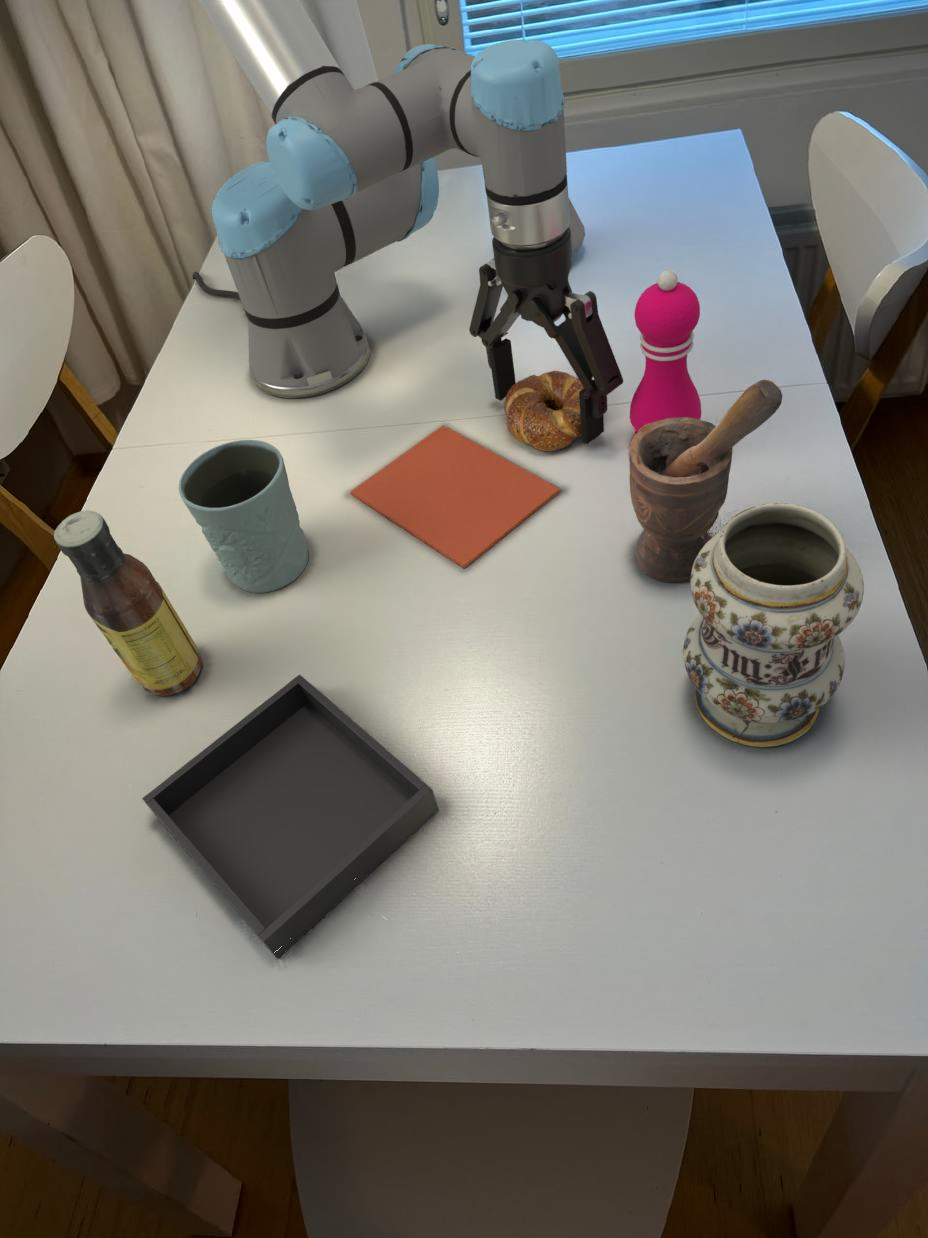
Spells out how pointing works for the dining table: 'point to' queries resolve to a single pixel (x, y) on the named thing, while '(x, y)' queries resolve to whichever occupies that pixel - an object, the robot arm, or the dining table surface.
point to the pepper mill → (666, 352)
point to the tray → (291, 811)
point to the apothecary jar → (770, 622)
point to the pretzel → (545, 410)
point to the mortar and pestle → (688, 480)
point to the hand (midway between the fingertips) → (548, 414)
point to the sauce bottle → (129, 607)
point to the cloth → (455, 495)
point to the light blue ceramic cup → (247, 513)
